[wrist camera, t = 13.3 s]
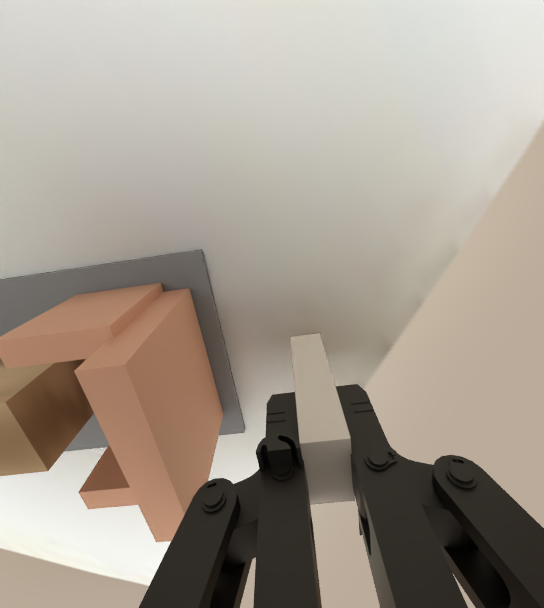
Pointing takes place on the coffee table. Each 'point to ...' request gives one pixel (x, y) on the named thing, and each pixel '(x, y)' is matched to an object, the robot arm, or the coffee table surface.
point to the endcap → (135, 393)
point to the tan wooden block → (39, 415)
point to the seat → (160, 269)
